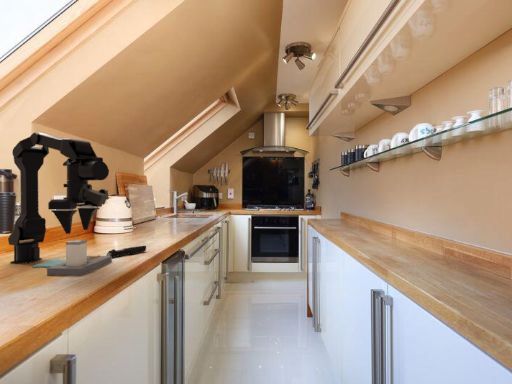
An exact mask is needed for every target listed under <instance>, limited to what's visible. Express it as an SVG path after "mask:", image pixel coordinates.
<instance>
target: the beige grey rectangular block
mask: <svg viewBox="0 0 512 384" xmlns="http://www.w3.org/2000/svg"><path fill="white" fill-rule="evenodd" d="M87 247H88V240H87V239H73V240H68V241H65V259H66V266H82V265H85V264H87V256H88V255H87V253H88V252H87V251H88V248H87Z"/></svg>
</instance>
